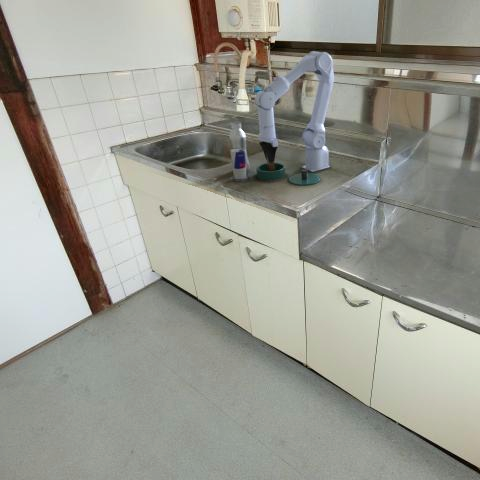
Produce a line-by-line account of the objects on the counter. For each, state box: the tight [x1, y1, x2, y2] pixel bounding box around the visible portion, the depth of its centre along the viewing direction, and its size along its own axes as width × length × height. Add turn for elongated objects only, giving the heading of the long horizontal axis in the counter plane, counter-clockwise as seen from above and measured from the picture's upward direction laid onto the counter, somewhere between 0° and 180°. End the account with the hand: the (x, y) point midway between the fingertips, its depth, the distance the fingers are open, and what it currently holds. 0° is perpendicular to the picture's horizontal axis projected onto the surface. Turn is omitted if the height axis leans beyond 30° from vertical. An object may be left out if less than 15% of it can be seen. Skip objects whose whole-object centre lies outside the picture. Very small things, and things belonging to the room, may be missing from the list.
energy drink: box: [230, 148, 249, 182], centre depth 140 cm, size 5×5×12 cm
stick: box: [265, 153, 275, 171], centre depth 143 cm, size 2×2×8 cm
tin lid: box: [288, 168, 321, 187], centre depth 140 cm, size 12×12×4 cm
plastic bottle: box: [229, 121, 251, 172], centre depth 146 cm, size 6×7×20 cm
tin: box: [256, 162, 286, 181], centre depth 145 cm, size 11×11×4 cm
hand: (270, 160), depth 142 cm, fingers closed on stick, 2 cm apart
